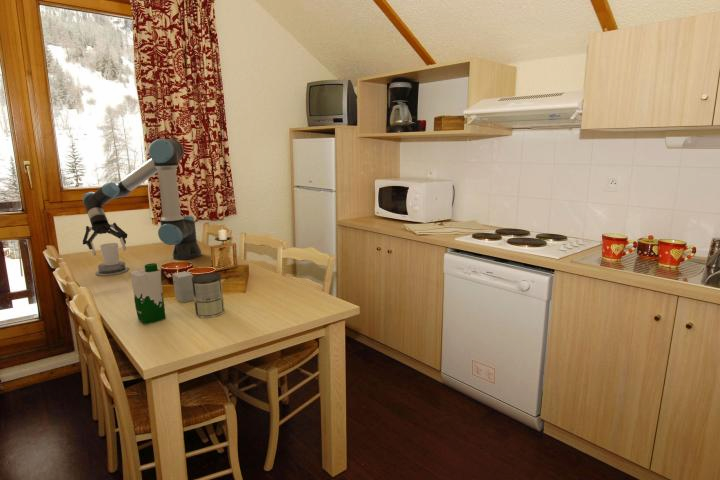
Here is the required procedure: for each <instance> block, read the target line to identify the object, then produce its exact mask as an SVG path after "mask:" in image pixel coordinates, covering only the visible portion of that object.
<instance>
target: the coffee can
mask: <svg viewBox="0 0 720 480" xmlns="http://www.w3.org/2000/svg"><path fill="white" fill-rule="evenodd" d="M192 284H193V292H194V300H193V301H194V306H195V307H194V309H195V316H196V317H197V318H200V319H209V318H215V317H216V318H217V317H218V316H221V315H223V314H224V313H226V312H225V310H226V309H225V306H224V305H225V303H224V293H223V285H222V274H221V273H219V272H206V273H205V272H204V273H199V274H197V275H193V277H192Z"/></svg>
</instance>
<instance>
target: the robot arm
mask: <svg viewBox="0 0 720 480" xmlns="http://www.w3.org/2000/svg"><path fill="white" fill-rule="evenodd" d="M184 152H185V149H184V146H183V144H182V143H181V142H180V141H178V140H176V139H173V138H158V139H155V140H153V141H152V142H151V143H150V144H149V147H148V156H149V157H150V159H148V160H147V161H145V162H144V163H143V164H142V165H140V166H138V167H137V168H136V169H135V170H133V171H132V172H131V173H129V174H127V175H126V176H125V177H124V178H122V179H121V180H119V181H118V182H116V183H115V182H113V181H108V182H106V183H105V184H103V185H102V186H101V187H100V188H99V189H97V190H96V191H95V192H93V191H88V192H87V193H84V194H83V195H82V198H81V199H82V202H83V203H82V204H83V206H84V208H85V210H86V212H87V215H88V218H89V222H90V225H91V226H88V225H86V226H85V234H84V236H83V239H82V245H86V246H87V247H88V249H89V250H90V251H92V255H93V256H96V254H97V251H96V248H95V246H94V243H93V241H94V239H95V238H96V237H97V236H98V235H103V234H108V235H112V236H114V237H116V238H118V239H120V240H119V241H120V244H121V246H122V249H123V251H126V250H127V246H126V244H127V240H126V239H127V238H128V233H127V232H126V231H124V230H123V229H122V228H121V227H119V225H117V223H116V222H113V223H111V224H110V223H109V221H108V218H107V215H106V212H105V210H104V208H103V206H105V205H107V203H108V202H110V201H112V200H116V199H118V198H125V197H128V196H129V195H130V194H131V192H132V191H133V190H135V189H136V188H137V187H139V186H140V185H142V184H143V183H145V182H146V181H147V180H149V179H151V177H153V176H154V175H156V174H157V176H158V183H159V184H158V185H159V191H160V201H161V211H162V217H161V218H160V220H159V221H160V222H159V223H160V226H159V228H158V231H157V234H158V235H157V236H158V238H159V240H160V241H161V242H162V243H163V244H165V245H167V246H174V247H173V251H172V259H174V260H191V259H196V258H199V257H201V256H202V250H201V247H200V246H199V244H198V240H197V232H196V221H195V217H194V216H192V215H187V216H186V215H184V216H183V215H181V214H182V213H181V207H180V206H181V205H180V197H179V195H180V194H179V186H178V178H177V169H178V167H179V161H180V160H181V159H182V158H183V156H184ZM91 231H93V232H92V234H91V236H90V237H89V234H90V232H91ZM88 237H89V238H88Z"/></svg>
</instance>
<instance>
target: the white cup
mask: <svg viewBox="0 0 720 480" xmlns="http://www.w3.org/2000/svg"><path fill="white" fill-rule="evenodd" d="M99 248H100V252H101V256H102V260H103V263H104V264H105V265H116V264H119V263H120V262H119V261H120V251H119V243H118V242H108V243H103V244H100V245H99Z"/></svg>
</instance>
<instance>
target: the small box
mask: <svg viewBox="0 0 720 480" xmlns="http://www.w3.org/2000/svg"><path fill="white" fill-rule="evenodd" d="M171 277H172V283H173V289H174V297H175V299H176V300H178V301H179V302H181V303H187V302H190V301H194V292H193V284H192V277H194V274H193V273H191V272H188V271H181V272H176V273H172V276H171Z"/></svg>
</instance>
